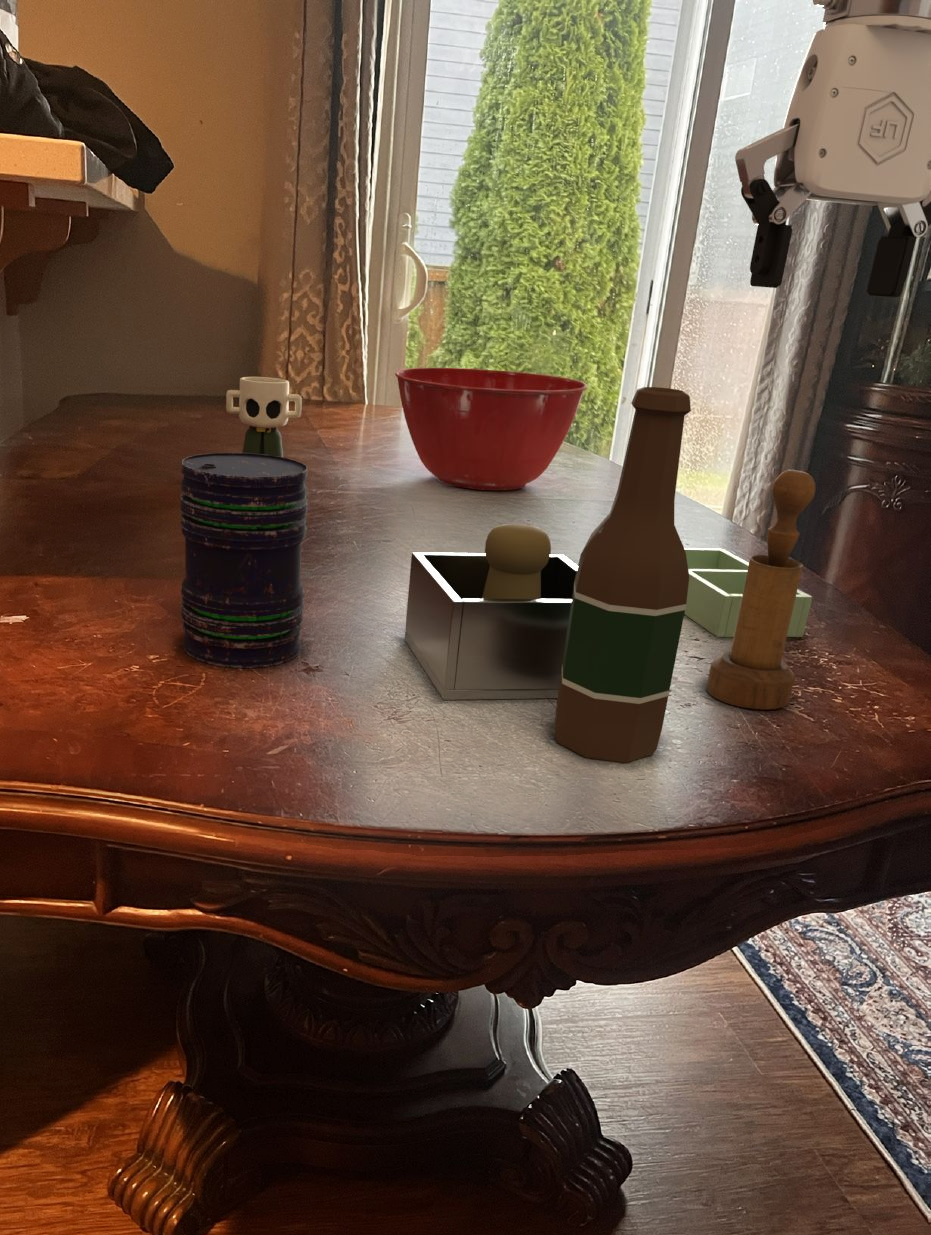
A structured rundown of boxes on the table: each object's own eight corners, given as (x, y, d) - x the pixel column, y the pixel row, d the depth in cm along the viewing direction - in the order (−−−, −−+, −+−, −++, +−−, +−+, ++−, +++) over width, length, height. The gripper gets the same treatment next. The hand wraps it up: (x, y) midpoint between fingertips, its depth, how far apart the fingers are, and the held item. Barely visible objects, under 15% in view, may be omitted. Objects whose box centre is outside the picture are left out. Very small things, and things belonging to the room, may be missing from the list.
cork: (454, 657, 86) (467, 524, 81) (490, 640, 90) (505, 513, 86) (519, 677, 83) (537, 540, 78) (553, 658, 87) (572, 527, 83)
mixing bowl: (368, 488, 150) (375, 375, 144) (408, 457, 176) (415, 360, 170) (566, 510, 145) (582, 395, 139) (577, 475, 171) (591, 376, 165)
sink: (551, 639, 94) (563, 554, 91) (610, 697, 82) (626, 602, 79) (404, 639, 91) (411, 551, 88) (443, 700, 79) (453, 601, 76)
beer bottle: (572, 709, 79) (624, 378, 70) (673, 737, 76) (741, 393, 66) (531, 743, 73) (581, 385, 64) (639, 775, 70) (709, 401, 60)
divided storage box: (715, 584, 116) (723, 548, 114) (803, 637, 100) (813, 596, 99) (639, 583, 114) (645, 547, 112) (716, 637, 98) (725, 596, 97)
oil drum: (276, 622, 93) (281, 451, 87) (321, 661, 85) (330, 475, 79) (166, 633, 89) (163, 453, 82) (203, 674, 81) (202, 478, 75)
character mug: (223, 472, 153) (224, 379, 147) (227, 463, 159) (228, 374, 154) (298, 477, 153) (302, 384, 148) (299, 468, 160) (302, 379, 155)
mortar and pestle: (713, 674, 89) (759, 459, 82) (793, 691, 87) (847, 471, 79) (699, 698, 83) (746, 470, 76) (783, 717, 81) (840, 483, 74)
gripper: (801, -18, 64) (742, 285, 71) (1039, 17, 68) (962, 302, 75) (739, 6, 71) (691, 281, 78) (959, 37, 74) (895, 297, 81)
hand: (824, 291), depth 76 cm, fingers open, 9 cm apart
